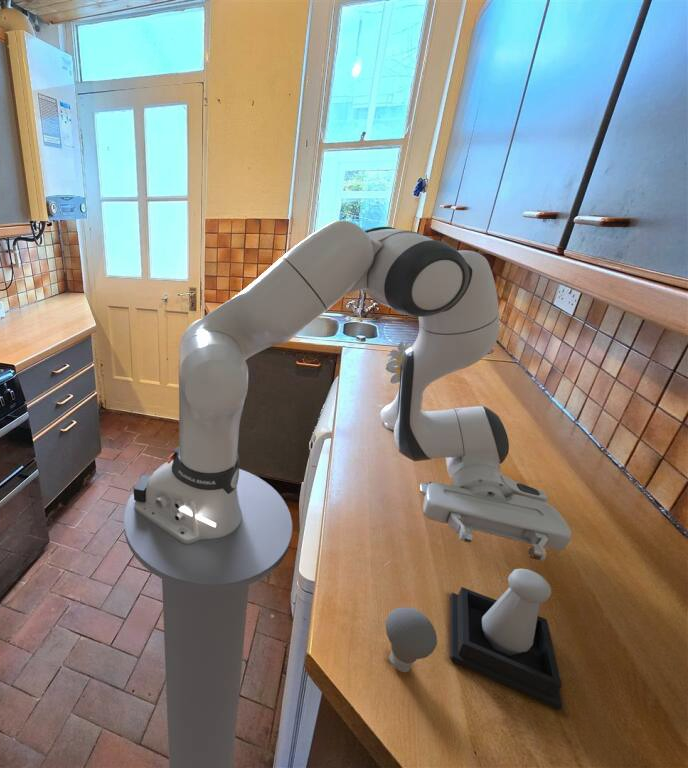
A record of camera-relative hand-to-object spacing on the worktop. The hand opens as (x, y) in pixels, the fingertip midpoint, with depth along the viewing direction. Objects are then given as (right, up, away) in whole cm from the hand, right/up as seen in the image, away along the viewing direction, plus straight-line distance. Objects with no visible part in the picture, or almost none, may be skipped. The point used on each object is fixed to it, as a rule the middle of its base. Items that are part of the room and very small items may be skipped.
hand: (501, 547), depth 64 cm
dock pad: (-4, -13, -4) cm, 14 cm away
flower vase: (+12, +13, +52) cm, 55 cm away
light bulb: (-20, -14, -6) cm, 25 cm away
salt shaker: (-4, -12, -5) cm, 13 cm away
